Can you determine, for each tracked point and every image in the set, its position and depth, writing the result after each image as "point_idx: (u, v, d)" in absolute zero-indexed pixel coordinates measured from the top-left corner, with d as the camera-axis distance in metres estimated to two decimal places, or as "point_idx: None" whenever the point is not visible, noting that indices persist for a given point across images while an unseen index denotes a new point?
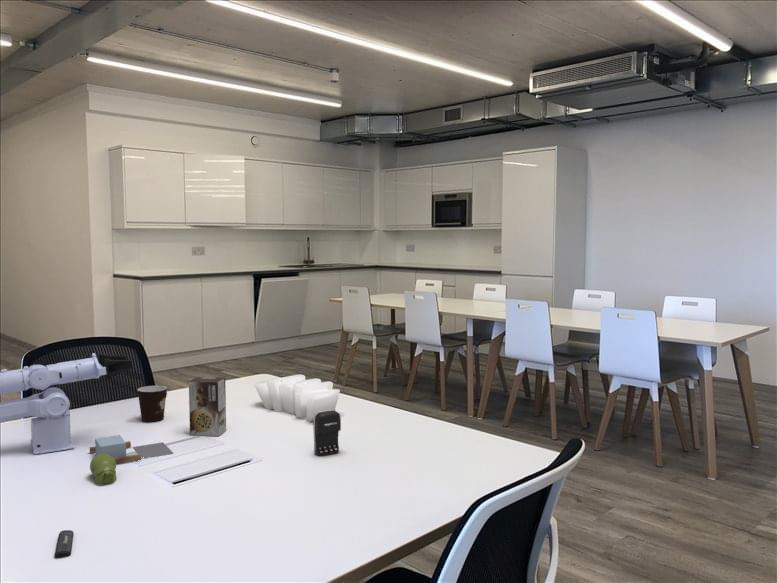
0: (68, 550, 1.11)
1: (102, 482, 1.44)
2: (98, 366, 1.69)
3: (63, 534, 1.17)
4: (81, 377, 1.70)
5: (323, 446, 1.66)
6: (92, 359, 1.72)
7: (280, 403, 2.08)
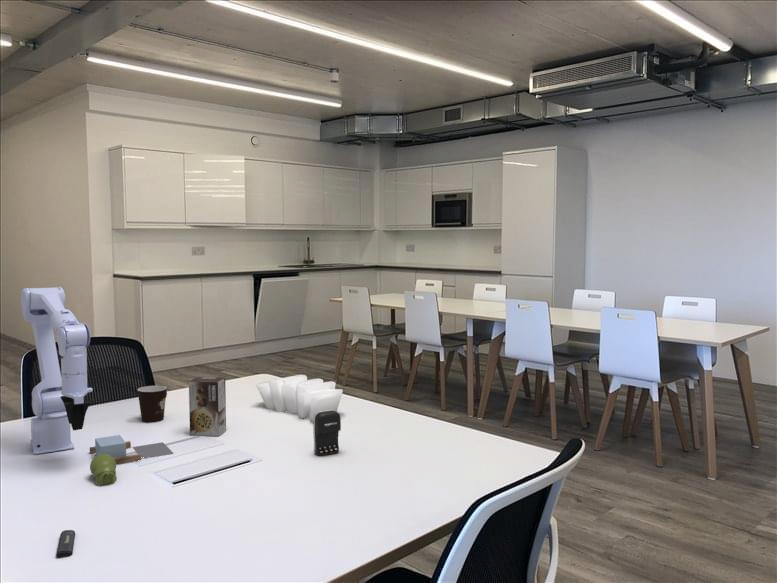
0: (70, 550, 1.11)
1: (102, 482, 1.43)
2: (83, 395, 1.53)
3: (65, 534, 1.17)
4: (68, 377, 1.54)
5: (323, 446, 1.66)
6: (86, 388, 1.57)
7: (282, 403, 2.08)
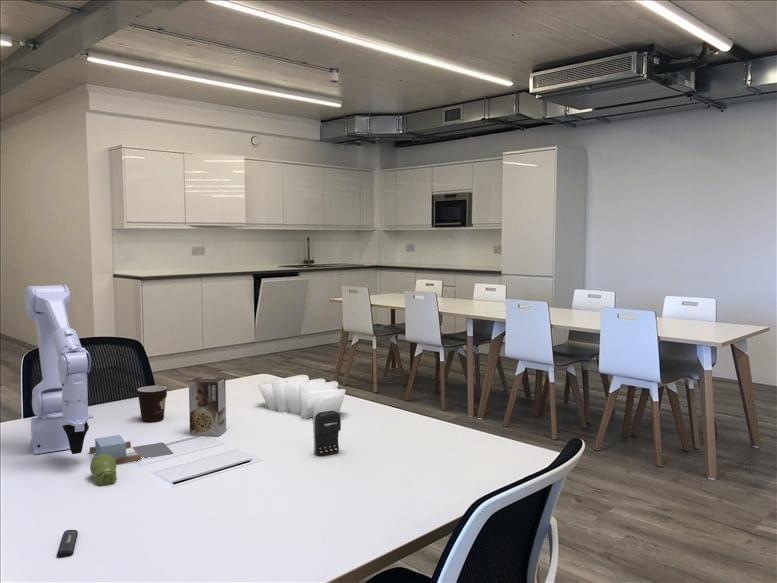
0: (70, 550, 1.11)
1: (102, 483, 1.43)
2: (84, 422, 1.53)
3: (67, 533, 1.17)
4: (68, 405, 1.54)
5: (323, 446, 1.66)
6: (87, 415, 1.58)
7: (285, 404, 2.08)
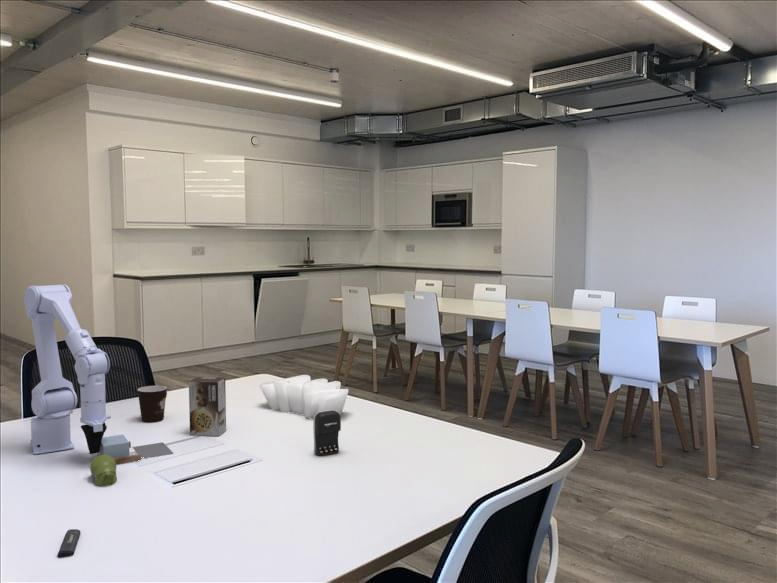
0: (71, 550, 1.11)
1: (102, 483, 1.43)
2: (102, 423, 1.55)
3: (69, 533, 1.17)
4: (87, 405, 1.56)
5: (323, 446, 1.66)
6: (105, 415, 1.60)
7: (287, 404, 2.07)
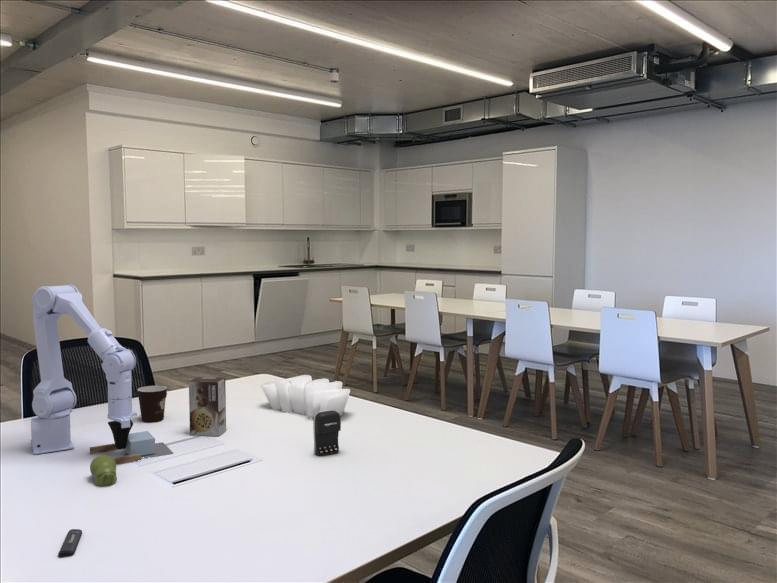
0: (72, 550, 1.11)
1: (103, 483, 1.43)
2: (129, 419, 1.59)
3: (71, 533, 1.17)
4: (114, 402, 1.60)
5: (323, 446, 1.66)
6: (131, 412, 1.63)
7: (289, 404, 2.07)
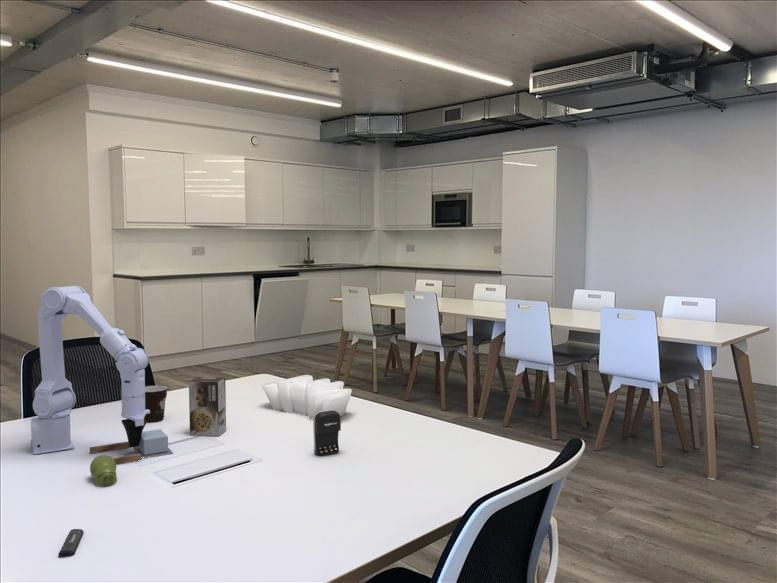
0: (72, 550, 1.11)
1: (103, 484, 1.43)
2: None
3: (72, 533, 1.17)
4: (128, 400, 1.62)
5: (323, 446, 1.66)
6: (144, 410, 1.65)
7: (290, 404, 2.07)
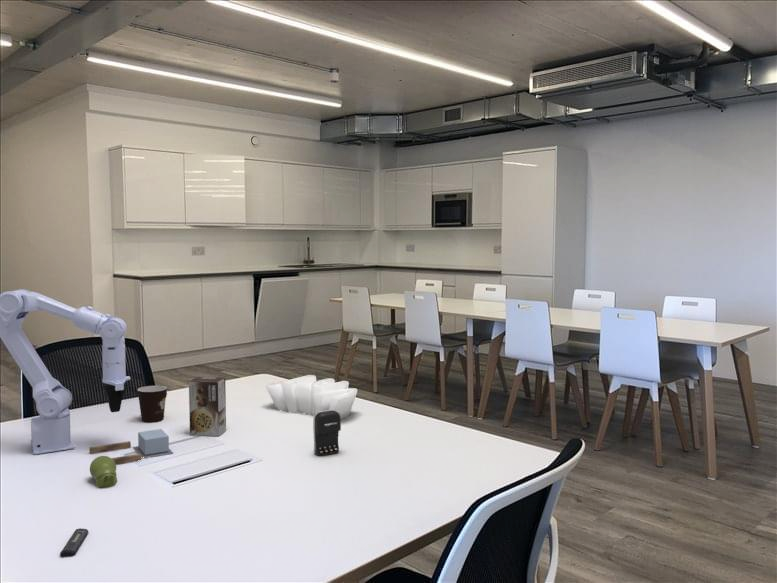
0: (73, 550, 1.11)
1: (103, 485, 1.42)
2: (123, 382, 1.67)
3: (76, 532, 1.17)
4: (109, 366, 1.68)
5: (323, 446, 1.66)
6: (125, 376, 1.71)
7: (295, 404, 2.07)
